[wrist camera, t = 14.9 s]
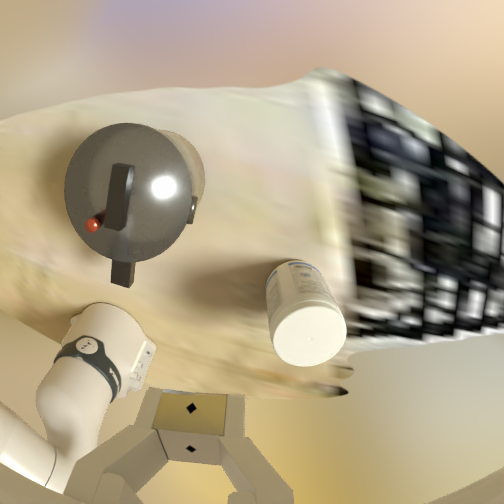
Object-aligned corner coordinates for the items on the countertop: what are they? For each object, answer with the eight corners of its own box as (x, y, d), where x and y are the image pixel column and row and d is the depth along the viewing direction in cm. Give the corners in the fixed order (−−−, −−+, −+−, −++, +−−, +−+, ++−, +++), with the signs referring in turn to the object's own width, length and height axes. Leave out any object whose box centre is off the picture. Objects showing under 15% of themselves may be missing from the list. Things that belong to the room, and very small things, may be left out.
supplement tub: (285, 319, 51) (295, 379, 37) (253, 279, 48) (253, 334, 34) (334, 290, 49) (359, 343, 35) (304, 246, 46) (325, 291, 32)
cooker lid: (182, 273, 35) (178, 284, 33) (65, 241, 33) (53, 249, 31) (213, 138, 30) (210, 138, 27) (80, 116, 28) (67, 115, 25)
